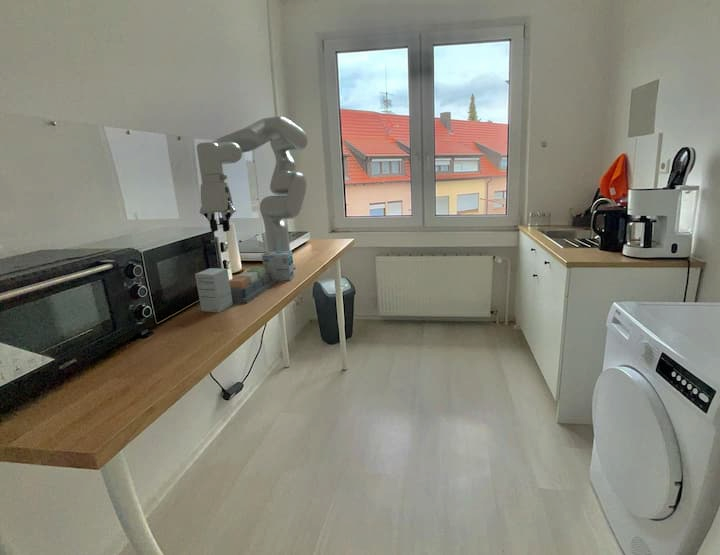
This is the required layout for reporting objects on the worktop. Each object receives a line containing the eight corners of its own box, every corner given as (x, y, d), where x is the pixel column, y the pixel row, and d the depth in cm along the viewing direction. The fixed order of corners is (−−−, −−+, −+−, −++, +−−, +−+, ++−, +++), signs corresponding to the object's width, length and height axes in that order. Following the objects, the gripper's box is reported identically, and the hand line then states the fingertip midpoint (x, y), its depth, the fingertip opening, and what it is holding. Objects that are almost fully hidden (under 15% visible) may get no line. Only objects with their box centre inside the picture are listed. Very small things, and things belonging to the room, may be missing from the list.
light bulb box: (295, 276, 173) (292, 250, 170) (291, 280, 167) (288, 253, 164) (269, 277, 174) (266, 251, 171) (264, 281, 168) (261, 255, 165)
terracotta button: (236, 288, 150) (235, 277, 149) (249, 288, 149) (248, 277, 148) (229, 292, 146) (227, 281, 145) (242, 292, 144) (241, 281, 143)
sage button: (254, 277, 163) (253, 267, 162) (266, 277, 162) (265, 267, 161) (248, 281, 158) (246, 270, 157) (260, 281, 157) (259, 270, 156)
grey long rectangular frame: (252, 282, 167) (251, 271, 166) (276, 283, 165) (274, 271, 163) (220, 303, 144) (218, 290, 143) (246, 303, 142) (245, 290, 141)
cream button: (245, 282, 157) (244, 272, 156) (258, 282, 155) (257, 272, 154) (239, 286, 152) (237, 275, 151) (252, 286, 151) (250, 275, 150)
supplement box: (215, 303, 144) (209, 267, 141) (233, 305, 141) (228, 268, 138) (200, 311, 137) (194, 273, 134) (219, 312, 135) (213, 274, 131)
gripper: (239, 177, 150) (246, 229, 155) (198, 180, 154) (205, 230, 159) (228, 178, 143) (236, 232, 148) (185, 181, 147) (194, 233, 152)
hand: (220, 230), depth 154 cm, fingers open, 4 cm apart
